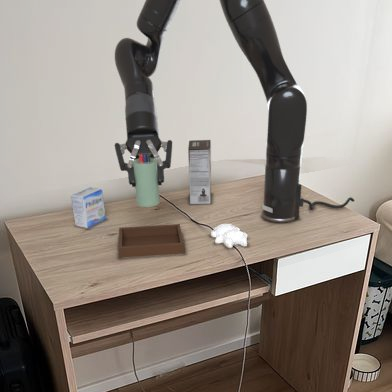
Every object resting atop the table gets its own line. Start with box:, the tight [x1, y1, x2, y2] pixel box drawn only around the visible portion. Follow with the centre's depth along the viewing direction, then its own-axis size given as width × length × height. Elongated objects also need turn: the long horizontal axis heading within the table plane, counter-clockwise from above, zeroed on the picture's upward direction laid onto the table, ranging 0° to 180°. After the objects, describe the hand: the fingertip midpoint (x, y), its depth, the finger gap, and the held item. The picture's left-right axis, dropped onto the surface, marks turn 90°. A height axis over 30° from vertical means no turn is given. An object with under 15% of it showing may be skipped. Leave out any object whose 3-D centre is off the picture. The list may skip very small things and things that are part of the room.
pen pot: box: [133, 154, 161, 208], centre depth 127 cm, size 6×6×12 cm
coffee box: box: [187, 139, 212, 205], centre depth 158 cm, size 9×6×16 cm
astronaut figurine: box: [210, 223, 248, 249], centre depth 137 cm, size 9×12×3 cm
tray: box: [118, 223, 185, 259], centre depth 135 cm, size 16×13×3 cm
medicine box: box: [70, 186, 106, 229], centre depth 147 cm, size 8×4×9 cm, turn 148°
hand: (146, 184), depth 127 cm, fingers closed on pen pot, 5 cm apart
